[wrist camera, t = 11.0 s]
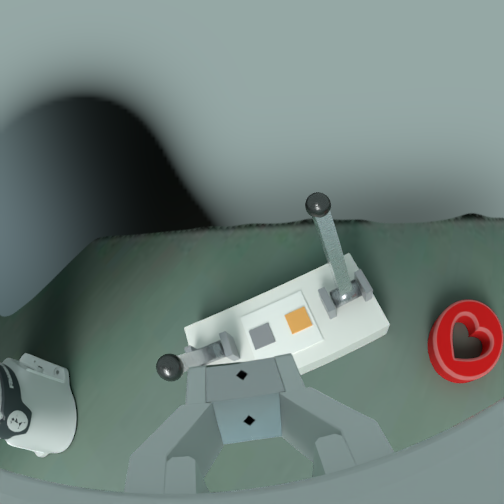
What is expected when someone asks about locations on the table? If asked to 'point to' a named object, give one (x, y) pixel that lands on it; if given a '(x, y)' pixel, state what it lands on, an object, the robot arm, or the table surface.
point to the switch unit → (295, 322)
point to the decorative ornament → (479, 325)
